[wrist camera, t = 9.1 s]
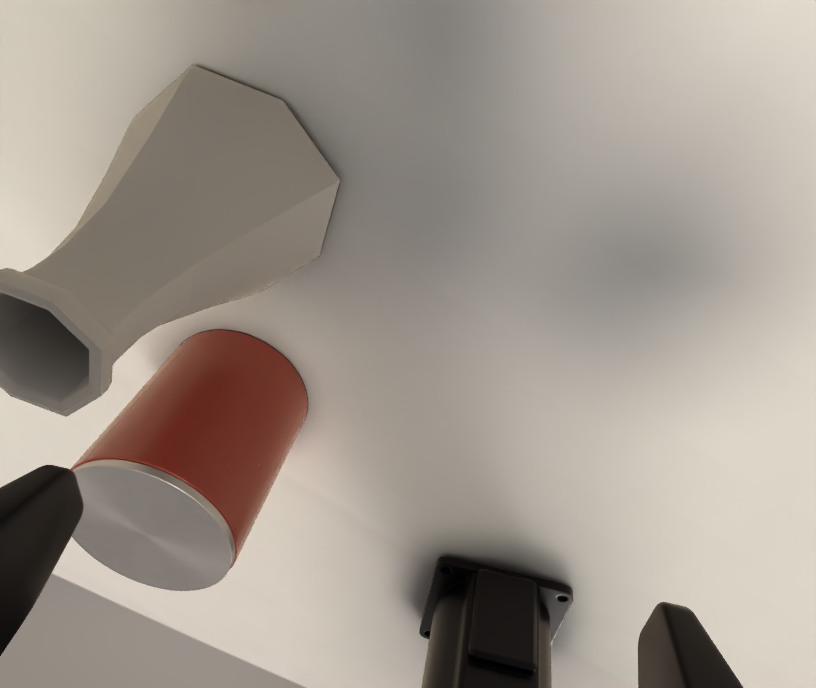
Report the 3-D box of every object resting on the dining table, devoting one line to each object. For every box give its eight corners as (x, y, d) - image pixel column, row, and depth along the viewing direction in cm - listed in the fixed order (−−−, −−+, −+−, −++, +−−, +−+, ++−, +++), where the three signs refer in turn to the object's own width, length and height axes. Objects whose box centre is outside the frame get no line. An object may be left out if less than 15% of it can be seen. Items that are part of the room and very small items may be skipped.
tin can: (305, 456, 27) (236, 608, 21) (177, 427, 28) (73, 567, 21) (310, 347, 24) (230, 491, 18) (164, 315, 24) (35, 445, 18)
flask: (102, 197, 22) (-165, 356, 13) (182, 15, 18) (-125, 83, 10) (272, 317, 23) (125, 525, 15) (380, 174, 19) (261, 348, 11)
